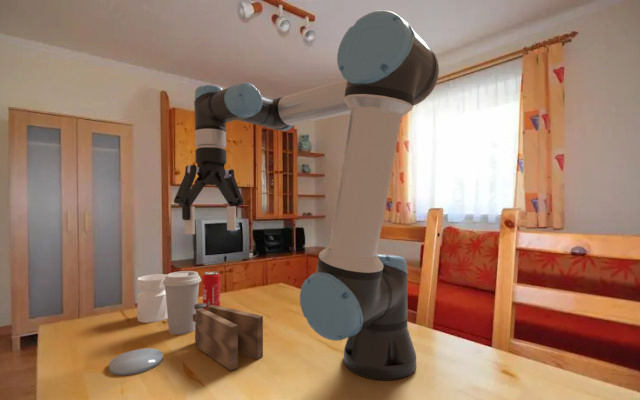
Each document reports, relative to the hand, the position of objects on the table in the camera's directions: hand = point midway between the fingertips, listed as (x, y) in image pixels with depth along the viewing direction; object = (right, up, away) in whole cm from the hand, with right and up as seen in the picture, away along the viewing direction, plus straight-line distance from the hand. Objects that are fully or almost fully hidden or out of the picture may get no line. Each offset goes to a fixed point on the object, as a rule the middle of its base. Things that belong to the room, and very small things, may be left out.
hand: (212, 232), depth 85 cm
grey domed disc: (-12, -27, -14) cm, 32 cm away
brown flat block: (+5, -27, -7) cm, 28 cm away
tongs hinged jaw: (+3, -26, -10) cm, 28 cm away
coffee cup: (-10, -27, +5) cm, 29 cm away
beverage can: (-7, -27, +21) cm, 35 cm away
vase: (-22, -27, +15) cm, 38 cm away
